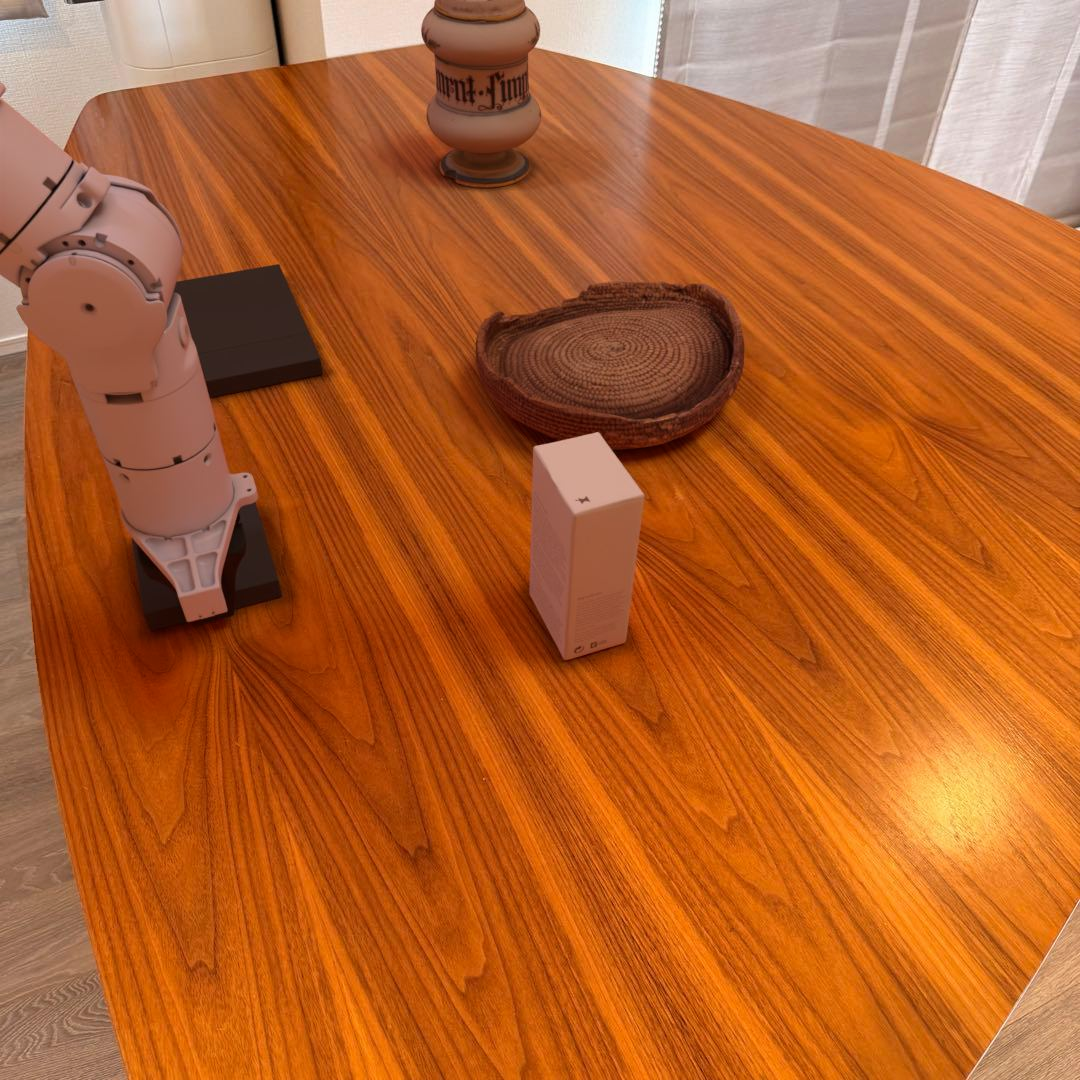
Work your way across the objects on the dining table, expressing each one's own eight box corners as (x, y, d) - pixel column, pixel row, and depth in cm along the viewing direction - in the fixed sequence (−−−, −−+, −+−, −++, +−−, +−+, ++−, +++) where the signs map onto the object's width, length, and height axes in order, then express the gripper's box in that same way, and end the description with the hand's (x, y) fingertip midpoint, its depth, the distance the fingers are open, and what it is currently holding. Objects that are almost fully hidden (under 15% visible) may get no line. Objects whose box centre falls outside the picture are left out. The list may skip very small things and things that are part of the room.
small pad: (150, 632, 59) (143, 614, 58) (131, 510, 66) (124, 493, 65) (282, 597, 61) (278, 579, 60) (249, 483, 69) (245, 465, 67)
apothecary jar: (406, 168, 106) (392, -16, 93) (484, 136, 112) (480, -40, 100) (485, 203, 100) (481, 13, 88) (562, 168, 107) (569, -15, 94)
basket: (615, 285, 89) (620, 234, 86) (797, 379, 79) (810, 326, 76) (425, 382, 78) (421, 328, 74) (609, 506, 68) (615, 451, 64)
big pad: (114, 418, 74) (108, 401, 72) (96, 312, 84) (91, 296, 83) (323, 374, 78) (320, 358, 77) (282, 279, 89) (279, 263, 87)
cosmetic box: (628, 644, 59) (648, 496, 50) (563, 663, 58) (572, 516, 49) (588, 575, 63) (600, 428, 54) (526, 592, 62) (529, 445, 53)
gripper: (265, 505, 45) (308, 683, 55) (216, 343, 55) (259, 519, 64) (107, 543, 43) (179, 721, 53) (84, 369, 53) (149, 546, 62)
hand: (215, 612), depth 59 cm, fingers closed
